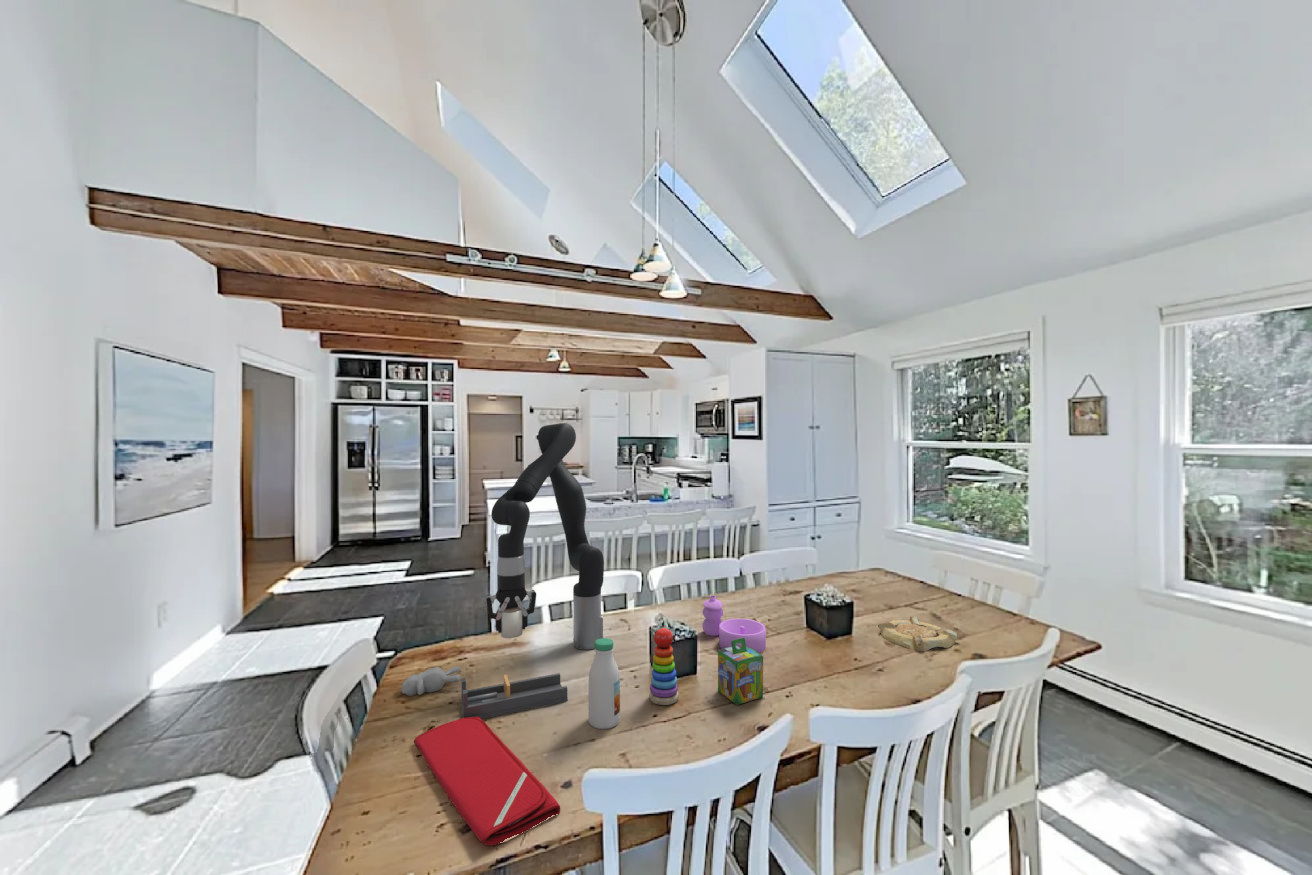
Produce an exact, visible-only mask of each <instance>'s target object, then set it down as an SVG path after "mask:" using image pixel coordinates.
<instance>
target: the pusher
mask: <svg viewBox="0 0 1312 875" xmlns="http://www.w3.org/2000/svg"><path fill="white" fill-rule="evenodd" d="M509 682H510V680H509V677H508V674H504V675H503V684H504V692H503V693H498V694H497V692H495V693H489V694H484V695H479V696H474V697H468V702H470V701H475V700H480V699H481V703H483V702H488V701H493V700H499V699H504V698H509V697H510V683H509Z"/></svg>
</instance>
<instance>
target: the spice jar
mask: <svg viewBox="0 0 1312 875" xmlns="http://www.w3.org/2000/svg"><path fill="white" fill-rule="evenodd" d="M522 614H523V613H522V610H520V608H519V606H518V607H511V608H507V609H506V608H505V610H504V612H503V613H502V616H501V618H500V619H501V633H500V637H501V638H503V639H515V638H518V637H520V636H523V633H524V632H523V630H524V629H523V620H522Z"/></svg>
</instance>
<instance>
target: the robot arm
mask: <svg viewBox="0 0 1312 875" xmlns="http://www.w3.org/2000/svg"><path fill="white" fill-rule="evenodd" d="M537 432H538V434H537V440H538V446H539V449H540V450H539V451H540V453H541V455H540V456H538V457H537V458H536V459H535V460H534V461H532V462H531V463H529V465H528V466H527V467H526V468H525V469H524V470H523V471H522V472H521V474H520V475H519V477H518V478H517V480H516V481H515V482H514V485H513V486H511V487H510V488H509V489H508V490H506V491H505V492H504V493H503V494H502V495H501V496H500V497H499V498H498V499H497V500H496V502H494V504H493V506H492V509H491V518H492V521H493V522H494V523H495V524H496V525H500V526H510V529H509V532H508V533H503V534H501V535H499V536H498V538H497V539H498V540H497V565H496V567H497V568H496V569H497V571H496V573H497V576H496V577H497V578H496V579H497V582H496V584H497V586H496V589H497V590H496V593H495V594H493V595H486V596H485V602H486V609H487V614H488V618H489V619H490V620H493V619H494V620H495V622H494V623H495V624H494V625H495V627H494V628H495V630H496V632H498V634H501V619H500V618H501V616H502V613H503V612H504V610H505V608H506V609H507V608H511V607H518V606H519V608H520V610H522V620H523V630H526V628H528V624H529V622H528V616H529V615H530V614H531V615H532V614H534V613H535V609H536V608H535V607H536V602H537V601H536V599H537V592H536V590H534V589H532V590H526V572H525V571H526V562H525V560H526V559H525V555H524V554H525V553H524V552H525V545H524V544H525V543H524V540H525V536H526V533H527V528H528V525H529V521H530V517H531V516H530V515H531V514H530V512H531V511H530V507H529V506H528V504H527V503H531V502H532V501H533V500H534V499H535V498H536V496H537V495H538V493H539V491H540V489H541V488H542V486H543V484H544V483H545V482H546V480H547V479H548V477H549V478H550V482H551V485H552V489H553V493H554V498H555V502H556V506H557V509H558V512H559V517H560V520H561V524H562V528H563V531H564V536H565V541H566V549H567V554H568V561H569V563H570V566H571V567H572V568H573V569H574V570H575V571H577V572H578V582H576V583H575V584H574V585H573V588H572V590H573V592H572V597H573V598H572V600H573V601H572V602H573V606H572V607H573V609H572V610H573V611H572V612H573V615H572V616H573V620H572V621H573V622H572V624H573V629H572V630H573V632H572V633H573V647H574V648H576V649H579V650H592V649H593V650H595V641H596V640H598V639H601V638H604V616H603V615H602V587H603V585H604V576H605V574H604V572H605V571H604V570H605V559H604V558H605V557H604V555H603V552H602V551H601V549H599V548H597V547H595V546H593V545H590V543H589V540H588V536H587V533H586V528H585V522H586V515H587V503H586V498H585V494H584V491H583V490H584V489H583V487H582V485H581V483H580V482H579V481H578V479H577V478H576V477H575V476H574V475H573V474H572V472H571V471H570V470H569V469H568V467H567V466H566V464H565V463H564V460H563V459H564V458H565V457H566V456H567V455H568V454H569V452H570V451H571V450H572V449H573V447H574V446H575V444H576V441H577V435H576V434H577V433H576V430H575V428H574V427H573V425H571V424H570V423H567V422H561V423H559V422H558V423H553V424H546V425H542V426H541V427H540V428H539V430H538V431H537ZM526 597H527V598H528V599H529V603H528V608H526V607H525V606H524V603H523V601H524V599H525V598H526ZM495 600H496V601H498V603H499V605H498V608H497V610H496V611H495V612H494V610H493V604H495Z"/></svg>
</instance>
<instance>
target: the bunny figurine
mask: <svg viewBox="0 0 1312 875" xmlns="http://www.w3.org/2000/svg"><path fill="white" fill-rule="evenodd" d="M460 671H461V667H460V666H454V667H452V668H450V669H447V670H446V671H445V670H443V669H442V668H441V667H440V666H435V667H431V668H429V669H427V670H425V671H424V672H423V671H421V672H419V673H418V674H411V675H409V676H408V677H407V678H406V680H404V681H403V682H402V683H401V688H400V689H401V690H400V691H401V694H402V695H403V694H405V695H407V696H411V697H412V696H415V695H418V696H419V695H423V694H424V693H434V692H437V691H438V692H439V691H440V690H441V689H442V688H443V687H444V686H445V683H458V682H460V681H461V679H462V678H461V674H456V673H458V672H460Z"/></svg>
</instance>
